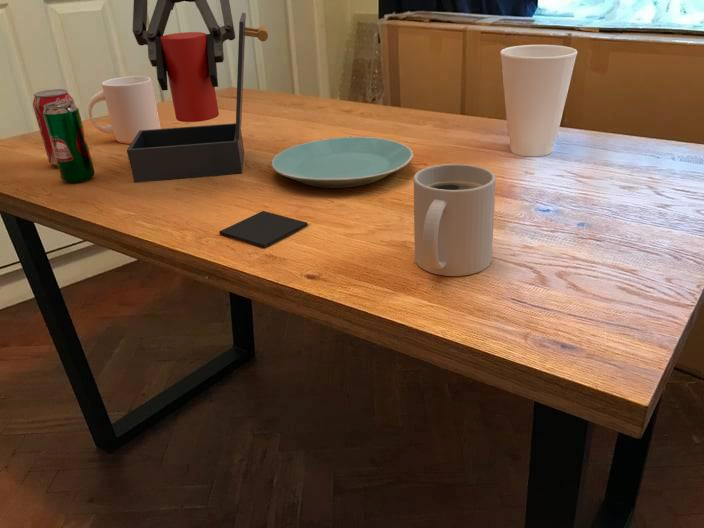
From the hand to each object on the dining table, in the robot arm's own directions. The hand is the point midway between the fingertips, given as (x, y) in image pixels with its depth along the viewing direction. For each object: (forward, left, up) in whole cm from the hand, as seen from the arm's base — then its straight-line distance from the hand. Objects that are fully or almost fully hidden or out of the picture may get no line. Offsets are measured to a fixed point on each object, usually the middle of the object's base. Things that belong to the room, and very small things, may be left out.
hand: (188, 82), depth 89 cm
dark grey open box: (+2, +16, -16) cm, 23 cm away
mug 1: (-3, +40, -17) cm, 43 cm away
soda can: (-15, +21, -17) cm, 30 cm away
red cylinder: (+1, +3, -5) cm, 6 cm away
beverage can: (-15, +31, -17) cm, 38 cm away
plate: (+21, -2, -17) cm, 27 cm away
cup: (+52, -11, -17) cm, 56 cm away
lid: (+11, +12, -2) cm, 17 cm away
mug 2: (+16, -37, -17) cm, 44 cm away
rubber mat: (+2, -16, -16) cm, 23 cm away
